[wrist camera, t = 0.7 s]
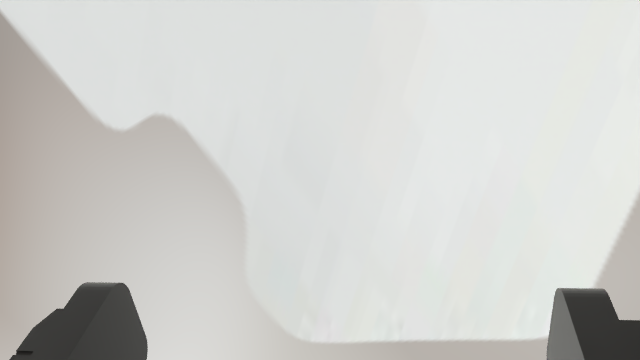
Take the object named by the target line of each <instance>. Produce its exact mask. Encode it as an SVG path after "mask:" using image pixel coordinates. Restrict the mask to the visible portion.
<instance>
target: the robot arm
mask: <svg viewBox="0 0 640 360" xmlns="http://www.w3.org/2000/svg"><path fill="white" fill-rule="evenodd" d="M16 351H17V353H16V355H13V356H12V357H11V359H10V360H146V359H147V339H146V335H145V332H144V330H143V327H142V324H141V321H140V319H139V316H138V313H137V310H136V308H135V305H134V302H133V299H132V296H131V294H130V291H129V289H128V287H127V286H126V285H125V284H123V283H88V282H87V283H84V284H82V285H81V286H80V287H79V288H78V289H77V290H76V292H75V293H74V295H73V296H72V297H71V299H70V300H69V302H68V303H67V305H66V306H65V307H64V309H56V310H55V311H54V312H52V313H51V314H50V315H49V316H47V317H46V318H45V319H44V320H42V321H41V322H40V323H39V324H37V325H36V326H35V327H34V328H33V329H32V330H31V331H30V333H29V334H28V336H27V337H26V338H25V340H24V341H23V342H22V344H21V345H20V346H19V348H18V349H17V350H16ZM547 360H640V321H636V320H635V321H634V320H619V319H618V317H617V314H616V312H615V309H614V307H613V305H612V302H611V300H610V297H609V296H608V293H607V292H606V291H605V290H604V289H576V288H558V289H557V290H556V292H555V296H554V303H553V310H552V317H551V324H550V332H549V339H548V346H547Z"/></svg>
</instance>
